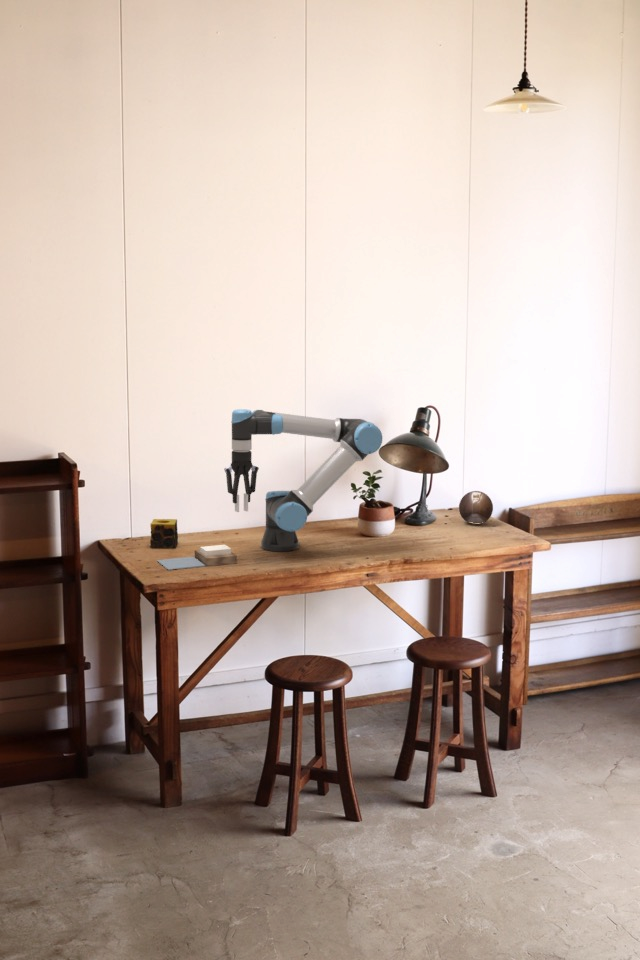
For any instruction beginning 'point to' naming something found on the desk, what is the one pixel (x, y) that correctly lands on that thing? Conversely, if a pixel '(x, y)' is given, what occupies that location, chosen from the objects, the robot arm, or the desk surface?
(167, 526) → the candle
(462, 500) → the bronze metallic ball
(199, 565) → the mat
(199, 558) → the deck
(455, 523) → the desk surface
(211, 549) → the tile
